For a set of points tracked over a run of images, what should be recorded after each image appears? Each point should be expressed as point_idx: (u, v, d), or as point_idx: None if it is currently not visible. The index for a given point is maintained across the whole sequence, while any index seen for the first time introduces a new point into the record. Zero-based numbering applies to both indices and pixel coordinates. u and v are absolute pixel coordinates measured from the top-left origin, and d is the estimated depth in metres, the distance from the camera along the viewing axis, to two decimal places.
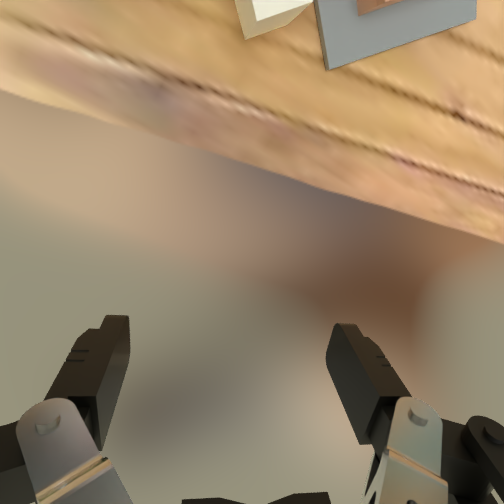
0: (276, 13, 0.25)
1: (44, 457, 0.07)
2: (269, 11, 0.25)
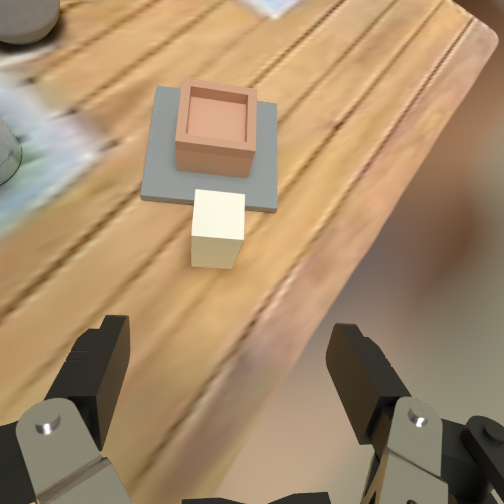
0: (243, 223, 0.29)
1: (44, 457, 0.07)
2: (240, 228, 0.29)
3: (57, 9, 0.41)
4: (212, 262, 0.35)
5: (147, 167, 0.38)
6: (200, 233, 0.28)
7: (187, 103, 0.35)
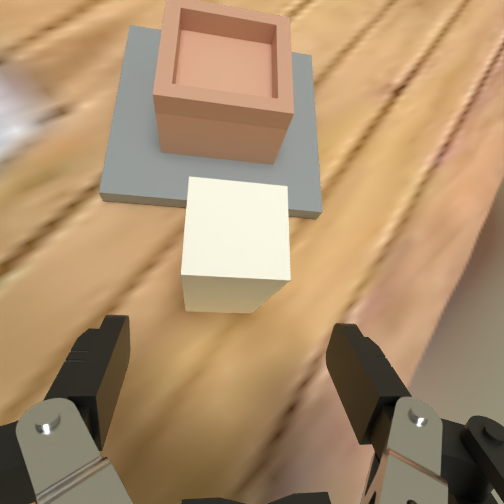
0: (287, 245, 0.14)
1: (44, 457, 0.07)
2: (282, 255, 0.14)
3: None
4: (221, 307, 0.20)
5: (112, 147, 0.23)
6: (200, 268, 0.13)
7: (175, 34, 0.21)
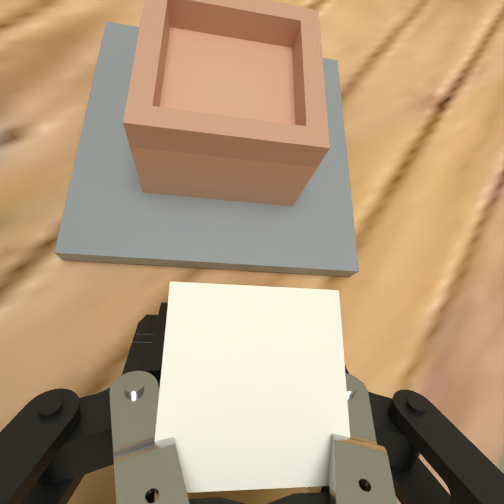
0: (344, 407, 0.08)
1: (139, 418, 0.08)
2: (337, 431, 0.08)
3: None
4: None
5: (76, 187, 0.17)
6: (188, 475, 0.07)
7: (159, 33, 0.14)
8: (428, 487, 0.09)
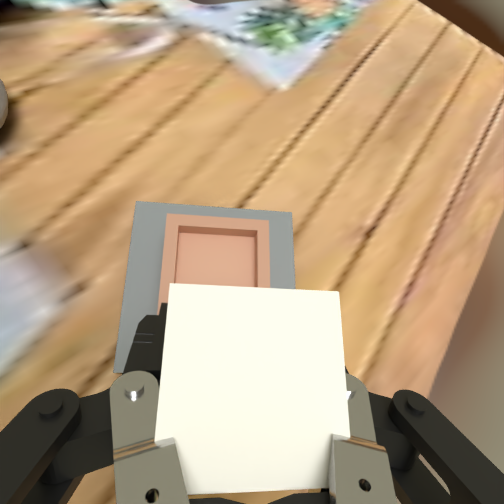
0: (344, 409, 0.08)
1: (140, 418, 0.08)
2: (337, 433, 0.08)
3: (3, 109, 0.31)
4: None
5: (123, 327, 0.28)
6: (187, 478, 0.07)
7: (174, 254, 0.25)
8: (428, 487, 0.09)
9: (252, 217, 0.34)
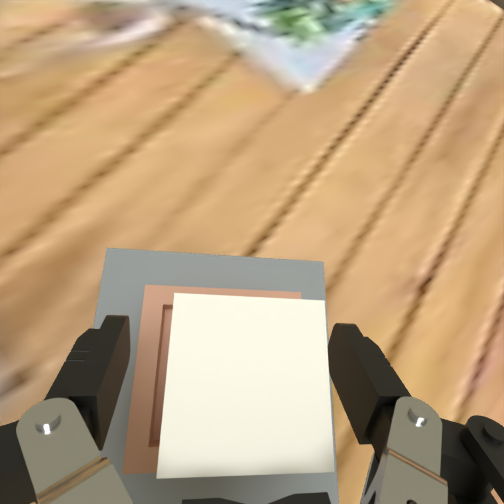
0: (327, 405, 0.09)
1: (44, 457, 0.07)
2: (320, 425, 0.09)
3: None
4: None
5: None
6: (189, 463, 0.08)
7: (154, 354, 0.16)
8: None
9: (270, 269, 0.24)
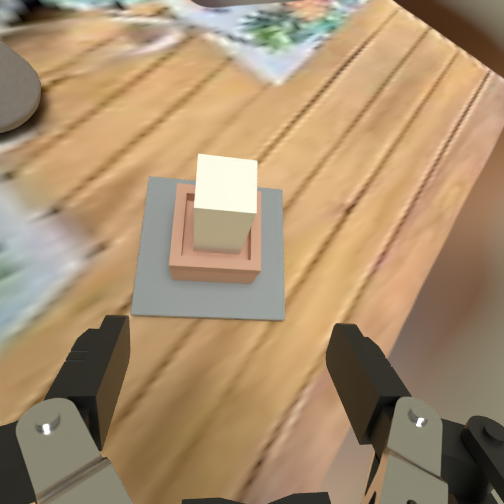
0: (255, 194, 0.24)
1: (44, 457, 0.07)
2: (252, 199, 0.24)
3: (37, 95, 0.37)
4: (217, 245, 0.30)
5: (138, 278, 0.34)
6: (204, 204, 0.23)
7: (183, 215, 0.31)
8: None
9: None
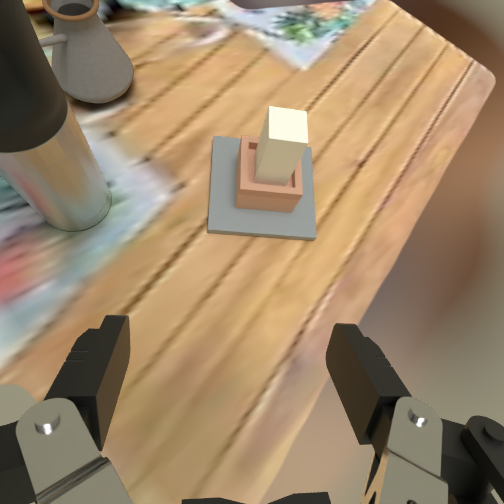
0: (306, 132, 0.37)
1: (44, 457, 0.07)
2: (305, 135, 0.37)
3: (132, 75, 0.50)
4: (273, 176, 0.43)
5: (211, 206, 0.47)
6: (275, 136, 0.36)
7: (247, 156, 0.44)
8: None
9: None
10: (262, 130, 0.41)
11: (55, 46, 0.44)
